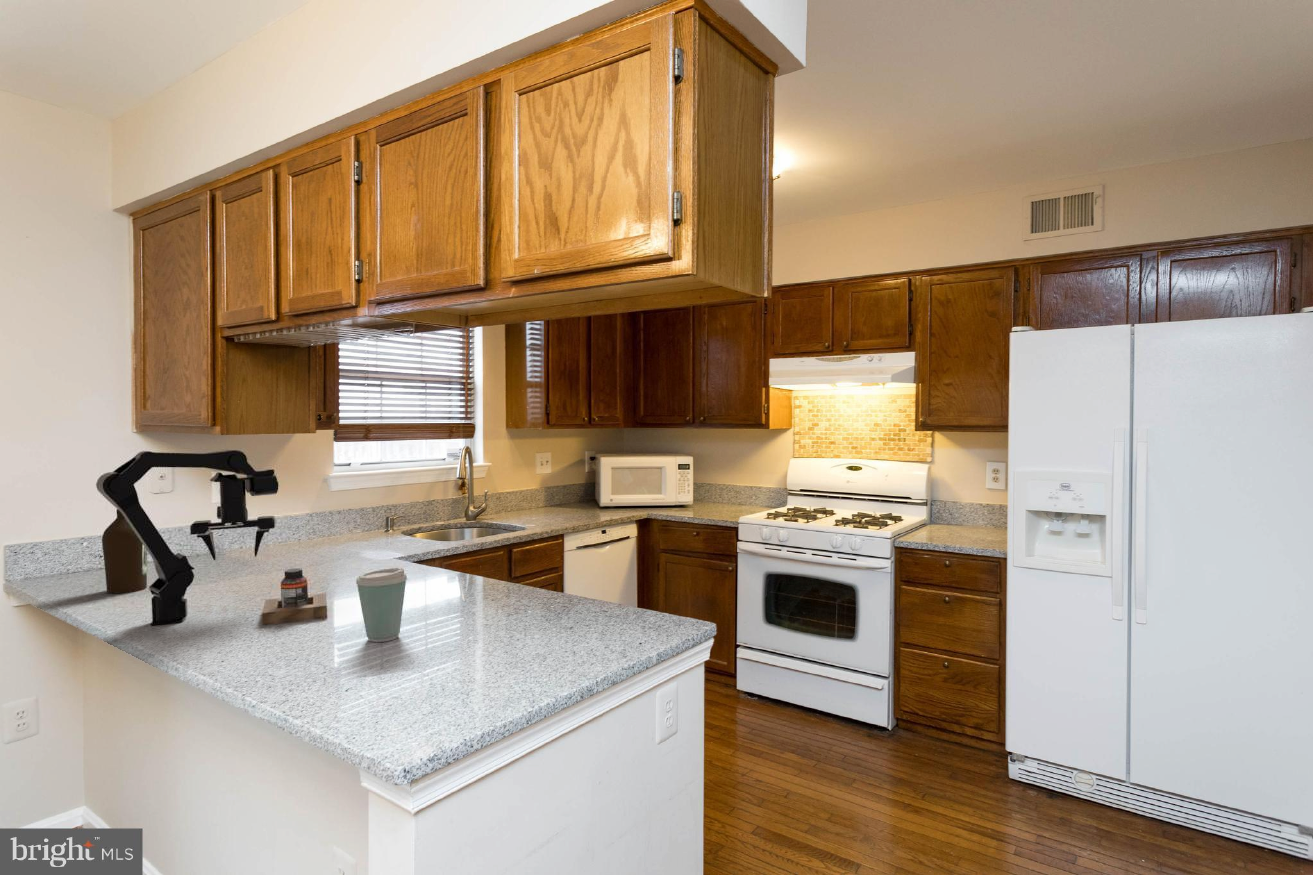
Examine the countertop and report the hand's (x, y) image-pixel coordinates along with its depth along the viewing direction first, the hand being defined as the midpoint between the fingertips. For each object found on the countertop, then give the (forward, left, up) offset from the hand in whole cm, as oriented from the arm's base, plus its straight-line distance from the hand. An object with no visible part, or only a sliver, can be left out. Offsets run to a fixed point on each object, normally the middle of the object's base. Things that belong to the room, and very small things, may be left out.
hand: (235, 557), depth 188 cm
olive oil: (-31, +39, -13) cm, 52 cm away
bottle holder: (+14, -15, -13) cm, 24 cm away
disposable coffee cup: (+32, -46, -13) cm, 58 cm away
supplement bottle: (+14, -15, -13) cm, 24 cm away
